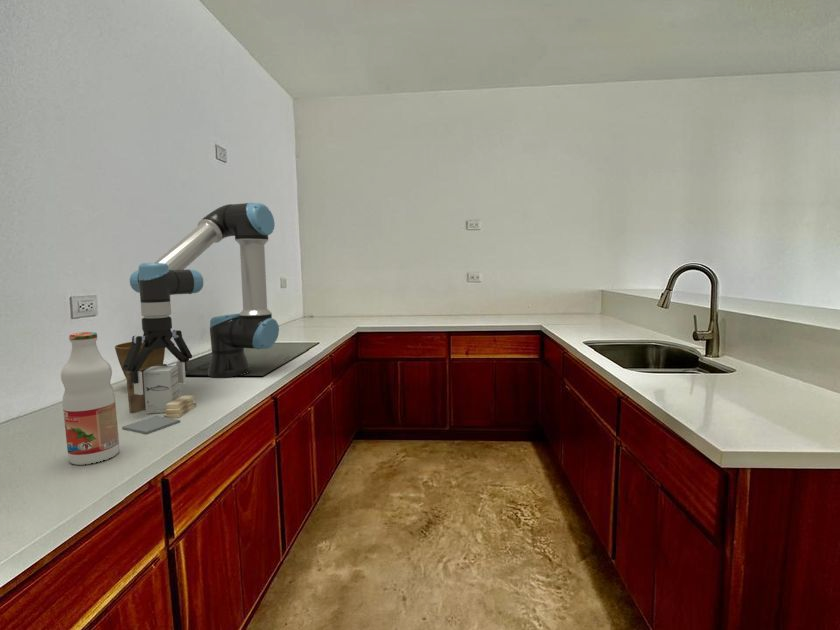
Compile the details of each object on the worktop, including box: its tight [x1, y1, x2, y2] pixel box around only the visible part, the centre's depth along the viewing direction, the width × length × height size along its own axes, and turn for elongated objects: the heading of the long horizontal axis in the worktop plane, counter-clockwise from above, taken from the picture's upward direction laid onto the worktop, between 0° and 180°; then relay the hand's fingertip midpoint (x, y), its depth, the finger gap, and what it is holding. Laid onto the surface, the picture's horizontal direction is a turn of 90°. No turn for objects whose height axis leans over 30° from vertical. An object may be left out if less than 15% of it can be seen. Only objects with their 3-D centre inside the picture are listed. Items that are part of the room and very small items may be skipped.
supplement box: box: [143, 364, 180, 415], centre depth 135 cm, size 7×7×13 cm
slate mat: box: [121, 415, 181, 435], centre depth 122 cm, size 10×10×1 cm
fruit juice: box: [60, 331, 120, 466], centre depth 101 cm, size 9×9×28 cm
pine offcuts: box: [162, 394, 197, 419], centre depth 133 cm, size 11×4×4 cm, turn 2°
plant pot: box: [114, 341, 166, 380], centre depth 158 cm, size 15×15×16 cm
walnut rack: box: [125, 363, 168, 414], centre depth 138 cm, size 12×1×12 cm, turn 156°
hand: (161, 388), depth 135 cm, fingers open, 13 cm apart
